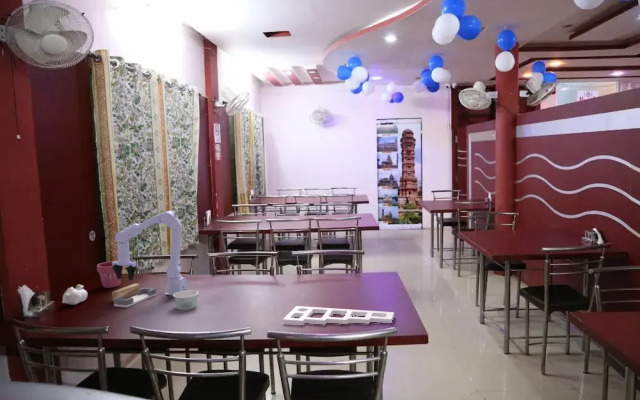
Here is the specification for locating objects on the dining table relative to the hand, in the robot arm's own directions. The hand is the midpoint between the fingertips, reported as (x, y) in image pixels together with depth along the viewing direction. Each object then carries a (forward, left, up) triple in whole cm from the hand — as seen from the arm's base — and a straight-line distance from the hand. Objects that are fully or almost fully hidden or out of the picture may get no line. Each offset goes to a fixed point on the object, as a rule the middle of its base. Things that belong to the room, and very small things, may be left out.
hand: (125, 279), depth 247 cm
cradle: (-10, +4, -9) cm, 14 cm away
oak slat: (0, 0, -10) cm, 10 cm away
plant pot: (+25, -15, -10) cm, 31 cm away
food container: (-42, +5, -10) cm, 43 cm away
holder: (-119, +2, -10) cm, 120 cm away
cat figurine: (+17, +17, -10) cm, 26 cm away
